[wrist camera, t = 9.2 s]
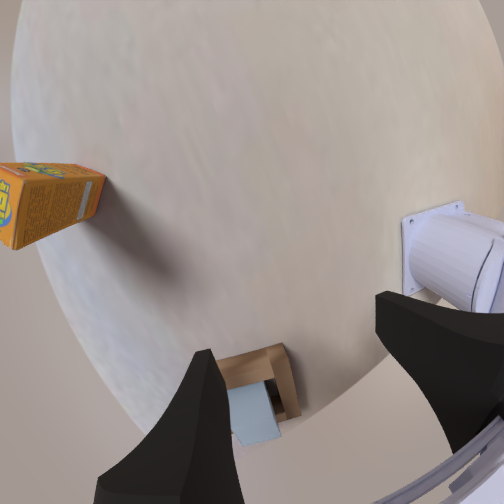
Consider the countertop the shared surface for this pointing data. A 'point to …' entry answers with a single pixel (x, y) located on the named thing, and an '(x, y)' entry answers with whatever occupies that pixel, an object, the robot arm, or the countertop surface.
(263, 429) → the peg
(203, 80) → the countertop surface
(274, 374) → the walnut holder
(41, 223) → the supplement box
